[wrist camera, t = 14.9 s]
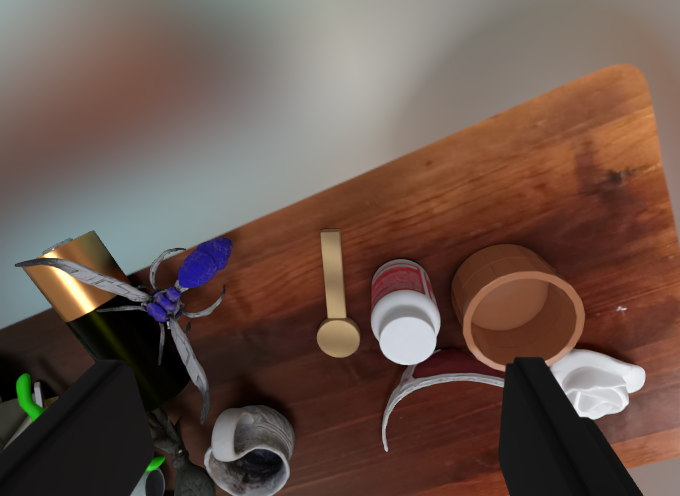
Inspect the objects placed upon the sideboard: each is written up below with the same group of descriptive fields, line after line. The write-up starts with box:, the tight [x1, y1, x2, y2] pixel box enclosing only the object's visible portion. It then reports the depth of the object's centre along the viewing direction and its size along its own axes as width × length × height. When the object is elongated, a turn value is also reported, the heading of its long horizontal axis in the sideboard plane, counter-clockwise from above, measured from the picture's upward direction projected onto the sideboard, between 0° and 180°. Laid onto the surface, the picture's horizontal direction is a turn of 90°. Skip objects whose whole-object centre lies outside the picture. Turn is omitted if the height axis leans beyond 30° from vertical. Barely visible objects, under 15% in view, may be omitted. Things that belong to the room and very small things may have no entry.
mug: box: [204, 405, 295, 496], centre depth 47 cm, size 10×12×10 cm
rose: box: [550, 349, 645, 419], centre depth 44 cm, size 10×4×10 cm
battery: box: [22, 231, 191, 413], centre depth 45 cm, size 7×7×20 cm
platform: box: [0, 381, 58, 453], centre depth 52 cm, size 12×18×7 cm
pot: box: [451, 244, 585, 372], centre depth 40 cm, size 10×10×7 cm
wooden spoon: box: [317, 229, 360, 357], centre depth 45 cm, size 15×5×1 cm, turn 4°
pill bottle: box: [371, 259, 440, 365], centre depth 39 cm, size 6×6×11 cm
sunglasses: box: [382, 348, 505, 452], centre depth 48 cm, size 17×17×5 cm
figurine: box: [146, 406, 216, 496], centre depth 48 cm, size 14×6×18 cm
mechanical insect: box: [15, 237, 233, 425], centre depth 39 cm, size 19×14×15 cm
